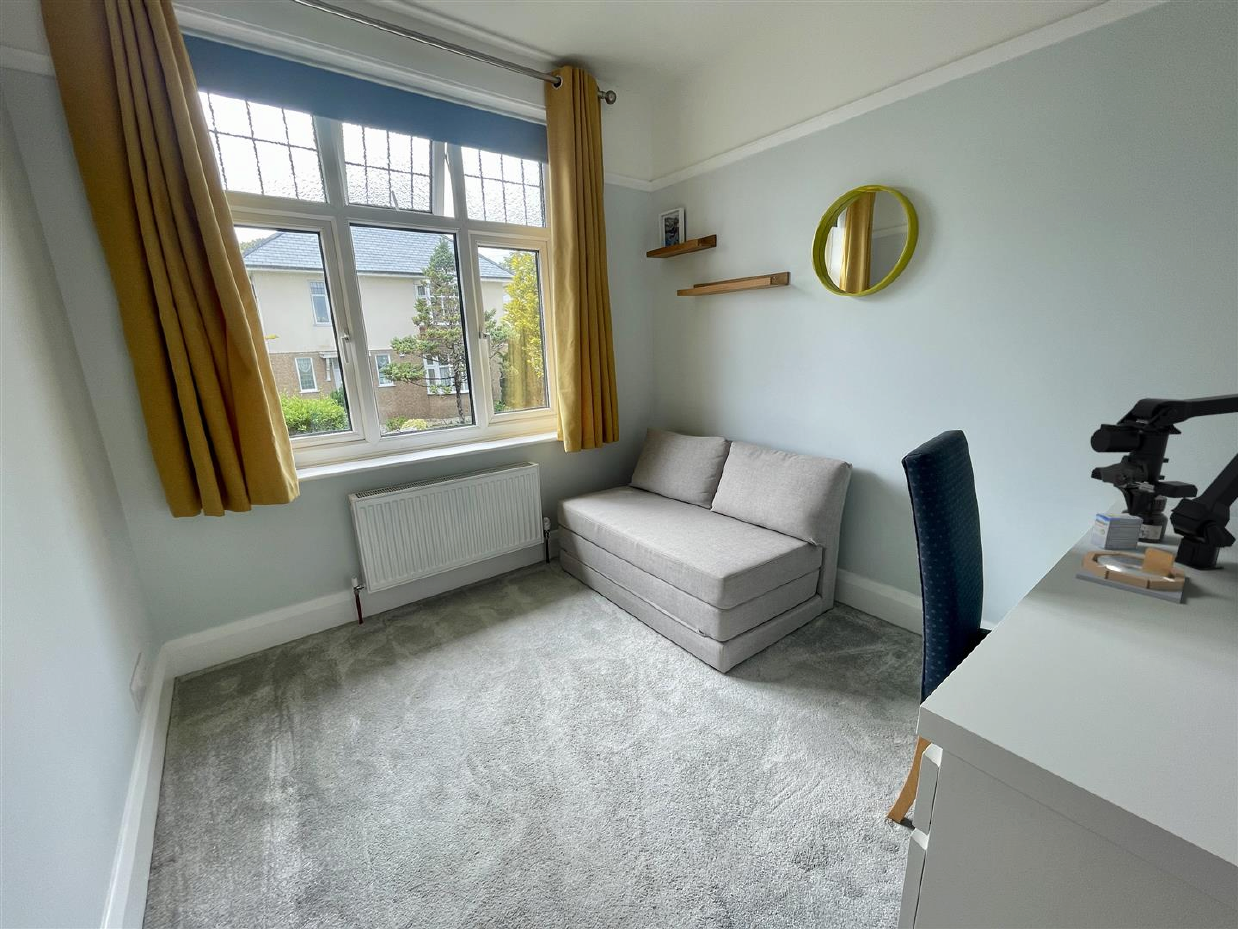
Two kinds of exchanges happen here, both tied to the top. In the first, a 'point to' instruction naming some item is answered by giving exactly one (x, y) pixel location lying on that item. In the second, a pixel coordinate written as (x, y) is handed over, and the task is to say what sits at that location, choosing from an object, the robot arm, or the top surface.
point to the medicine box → (1116, 531)
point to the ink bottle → (1153, 520)
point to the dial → (1141, 564)
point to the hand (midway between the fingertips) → (1132, 515)
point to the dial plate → (1132, 578)
